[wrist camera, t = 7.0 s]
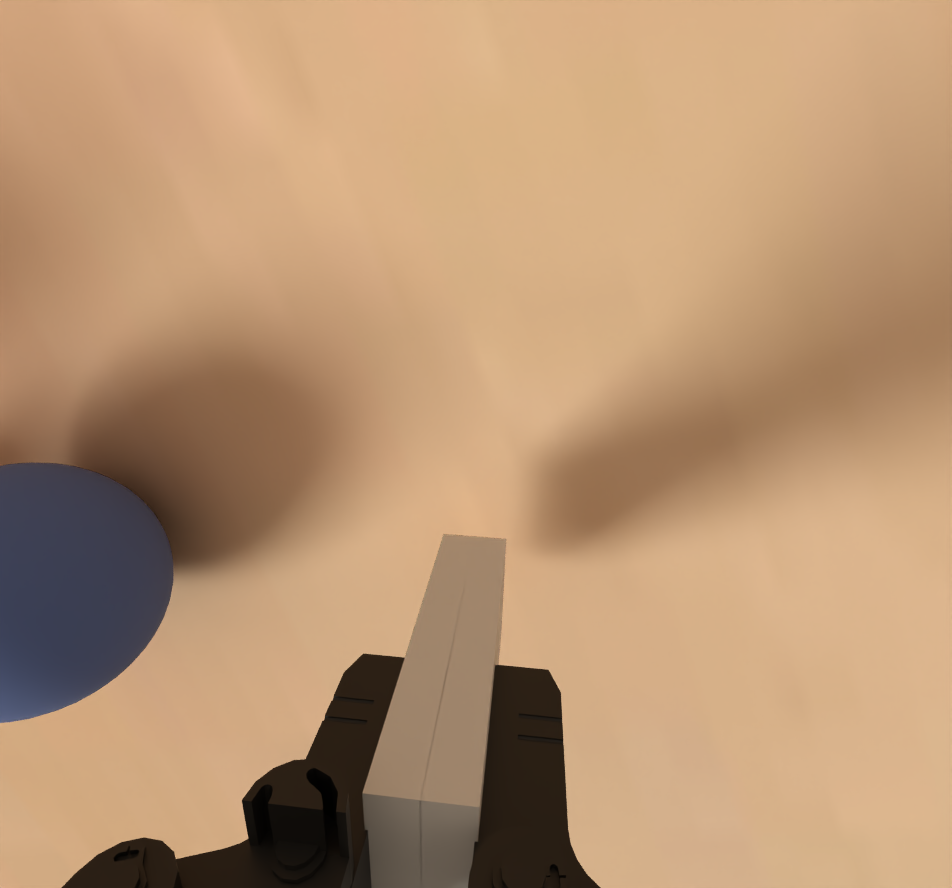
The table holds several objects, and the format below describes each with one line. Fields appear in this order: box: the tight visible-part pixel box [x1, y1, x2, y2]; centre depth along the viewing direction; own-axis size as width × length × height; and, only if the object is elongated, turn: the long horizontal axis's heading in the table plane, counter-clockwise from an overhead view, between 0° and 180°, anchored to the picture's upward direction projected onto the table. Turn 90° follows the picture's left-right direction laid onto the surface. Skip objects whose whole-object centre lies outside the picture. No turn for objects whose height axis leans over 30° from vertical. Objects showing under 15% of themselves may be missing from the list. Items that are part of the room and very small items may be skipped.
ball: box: [0, 463, 173, 723], centre depth 13 cm, size 6×6×6 cm
